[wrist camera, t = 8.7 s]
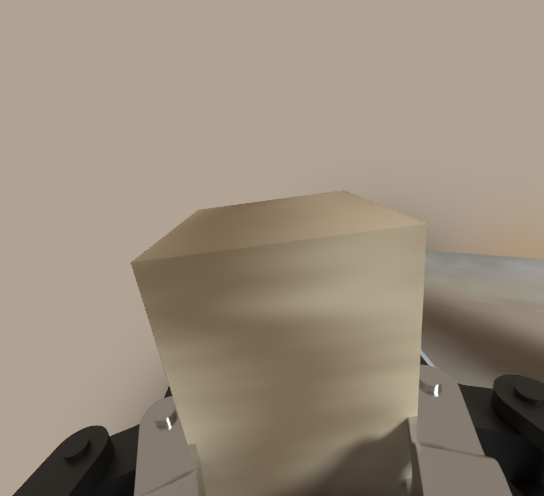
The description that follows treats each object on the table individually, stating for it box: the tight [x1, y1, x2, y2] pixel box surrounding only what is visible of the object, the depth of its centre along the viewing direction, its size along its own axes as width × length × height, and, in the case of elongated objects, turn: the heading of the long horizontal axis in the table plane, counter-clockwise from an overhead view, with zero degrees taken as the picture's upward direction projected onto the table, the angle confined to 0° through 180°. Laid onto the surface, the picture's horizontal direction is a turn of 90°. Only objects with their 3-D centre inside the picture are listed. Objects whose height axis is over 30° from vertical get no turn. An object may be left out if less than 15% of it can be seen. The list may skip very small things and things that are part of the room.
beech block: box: [131, 191, 427, 496], centre depth 9 cm, size 5×5×12 cm
